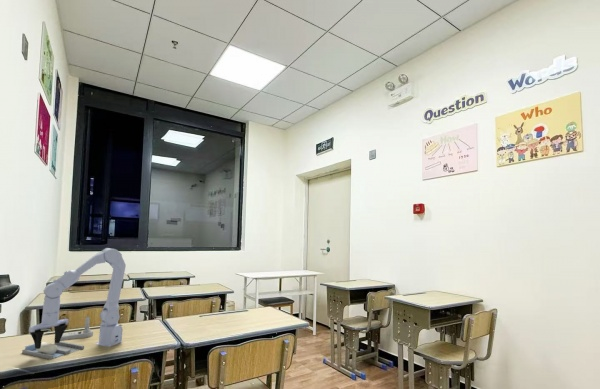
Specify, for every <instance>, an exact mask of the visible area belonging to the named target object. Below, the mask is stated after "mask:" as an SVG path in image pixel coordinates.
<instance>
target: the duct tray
mask: <svg viewBox="0 0 600 389" xmlns="http://www.w3.org/2000/svg"><path fill="white" fill-rule="evenodd" d="M53 342H54V343H53V344H55V345H57V351H56V352H55V353H54V354H52V355H49V354H44V353H40V352H37V350H36V348H35V344H34V343H33V344H29V345H26V346H24V347H25V348H24V349H22V350H21V351H22V352H21V353H22V354H23V355H29V356H32V357H33V356H34V357H37V358H43V359H47V360H53V359H56V358H60V357H62V356H65V355H69V354H72V353H75V352H78V351H81V350H84V349H85V345H82V344H77V343H72V342H66V341H63V340H60V342H59V343H55V341H53Z"/></svg>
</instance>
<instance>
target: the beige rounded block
mask: <svg viewBox="0 0 600 389" xmlns="http://www.w3.org/2000/svg"><path fill="white" fill-rule="evenodd" d="M36 350H37V352H40V353H44V354H49V355H52V354H54V353H55V352H56V351H57V345H55V344H54V343H49V342H43V341H41V347H40V349H36Z"/></svg>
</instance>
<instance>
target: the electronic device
mask: <svg viewBox="0 0 600 389" xmlns="http://www.w3.org/2000/svg"><path fill="white" fill-rule="evenodd" d="M90 317H91V316H85V318H84V319H85V320H84V329H83V330H81V331H80V330H79V331H73V332H66V333H63V335H62V337H61V339H60V341H67V340H73V339H82V338H84V339H85V338H89V337H93V335H94V330H92V329H91V328H90V319H91V318H90Z"/></svg>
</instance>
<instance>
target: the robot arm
mask: <svg viewBox="0 0 600 389" xmlns="http://www.w3.org/2000/svg"><path fill="white" fill-rule="evenodd" d="M106 263H107V264H109V266H111V268H112V274H111V277H110V283H109V288H108V294H107V297H106V302H105V304H104V305H103V309H102V310H101V311H100V314H99V318H100V320H101V322H100V324H99V334H98V336H99V337H98V342H95V343H94V345H97V346H101V347H112V346H115V345H118V344H121V343H123V342H124V341H123V340H122V339H123V331H124V330H123V327H122V326H121V325H120V324H119V320H120V318H121V317H120V311H119V310H120V306H119V305H120V304H119V301H120V296H121V292H122V291H121V290H122V286H123V280H124V277H125V272H126V263H125V260H124V258H123V255H122V253H121V252H120V251H119V250H118V249H116V248H110V247H106V248H104V249H102V250H101V251H99V252H97V253H96V254H94V255H93V256H92V257H90V258H89V259H88V260H86V261H85V262H84V263H82V264H81V265H79V266H78V267H77V268H76V269H72V270H71V269H70V270H68V271H67V270H65V271H64V272H63V275H61V276H60V277H58V278H57V279H53V280H52V283H48V284H47V285H46V286H45V288H44V289H43V293H44V298H43V299H44V301H43V305H42V306H43V307H42V315H41V323H38V324H35V325H32V326H29V328H28V332H29V334H30V336H31V338H32V340H33V344H35V348H36V349H40V347H41V343H42V339H43V335H44V334H45V332H44V331H42V330H46V329H50V328H53V329H54V342H55V343H59V342H60V341H61V340H60V339H61V337H62V335H63V334H65V332H66V330H67V328H68V324H69V319H68V318H63V319H59V318H60V317H59V316H60V307H61V295H62V294H63V292H64V291H65V290H67V289H68V288H69V287H71V286H73V285H74V284H75V283H76V282H78V281H79V280H80V276H81V275H83V274H84V273H86V272H87V271H89V270H90V269H92V268H93V267H95V266H96V265H99V264H106Z"/></svg>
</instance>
